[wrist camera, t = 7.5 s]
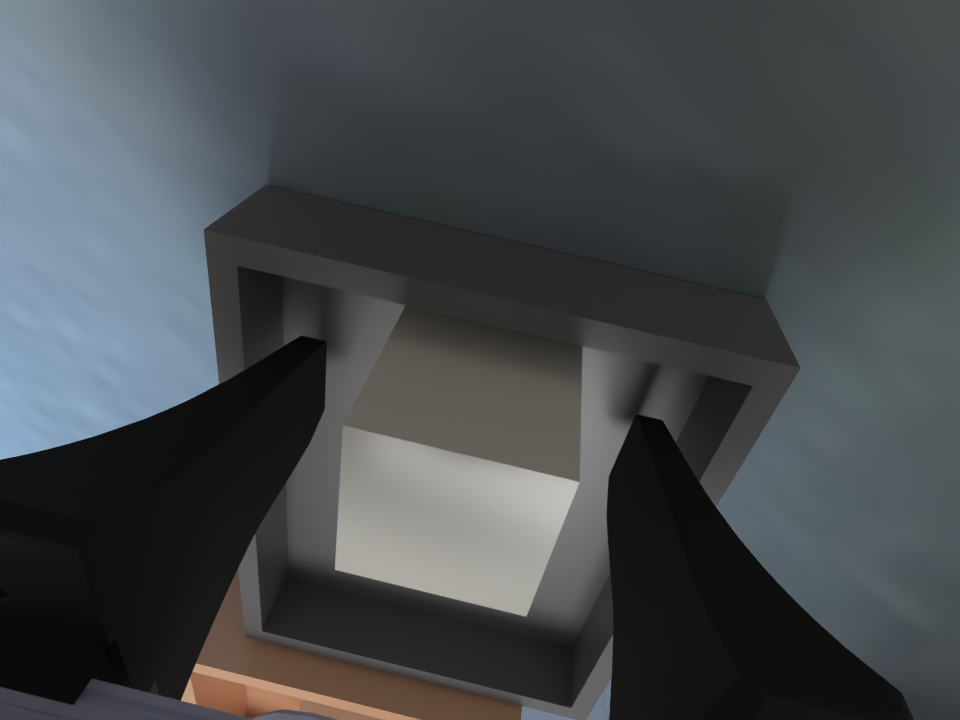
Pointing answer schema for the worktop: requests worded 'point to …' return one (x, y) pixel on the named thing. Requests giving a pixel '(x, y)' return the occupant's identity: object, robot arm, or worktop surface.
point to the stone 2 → (460, 460)
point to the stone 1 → (332, 711)
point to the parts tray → (499, 302)
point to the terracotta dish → (315, 680)
